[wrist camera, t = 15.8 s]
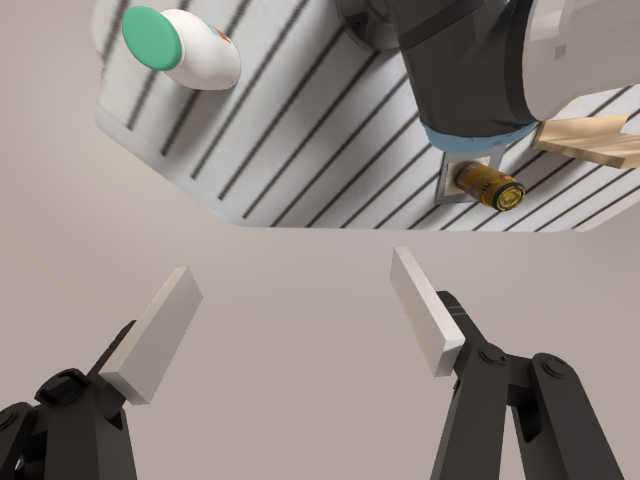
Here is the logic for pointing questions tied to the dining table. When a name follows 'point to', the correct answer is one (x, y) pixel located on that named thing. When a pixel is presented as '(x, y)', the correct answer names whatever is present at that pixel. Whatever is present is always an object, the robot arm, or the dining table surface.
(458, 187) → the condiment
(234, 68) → the milk bottle
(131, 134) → the dining table surface
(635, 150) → the screen
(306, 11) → the dining table surface
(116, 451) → the robot arm
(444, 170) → the mat
